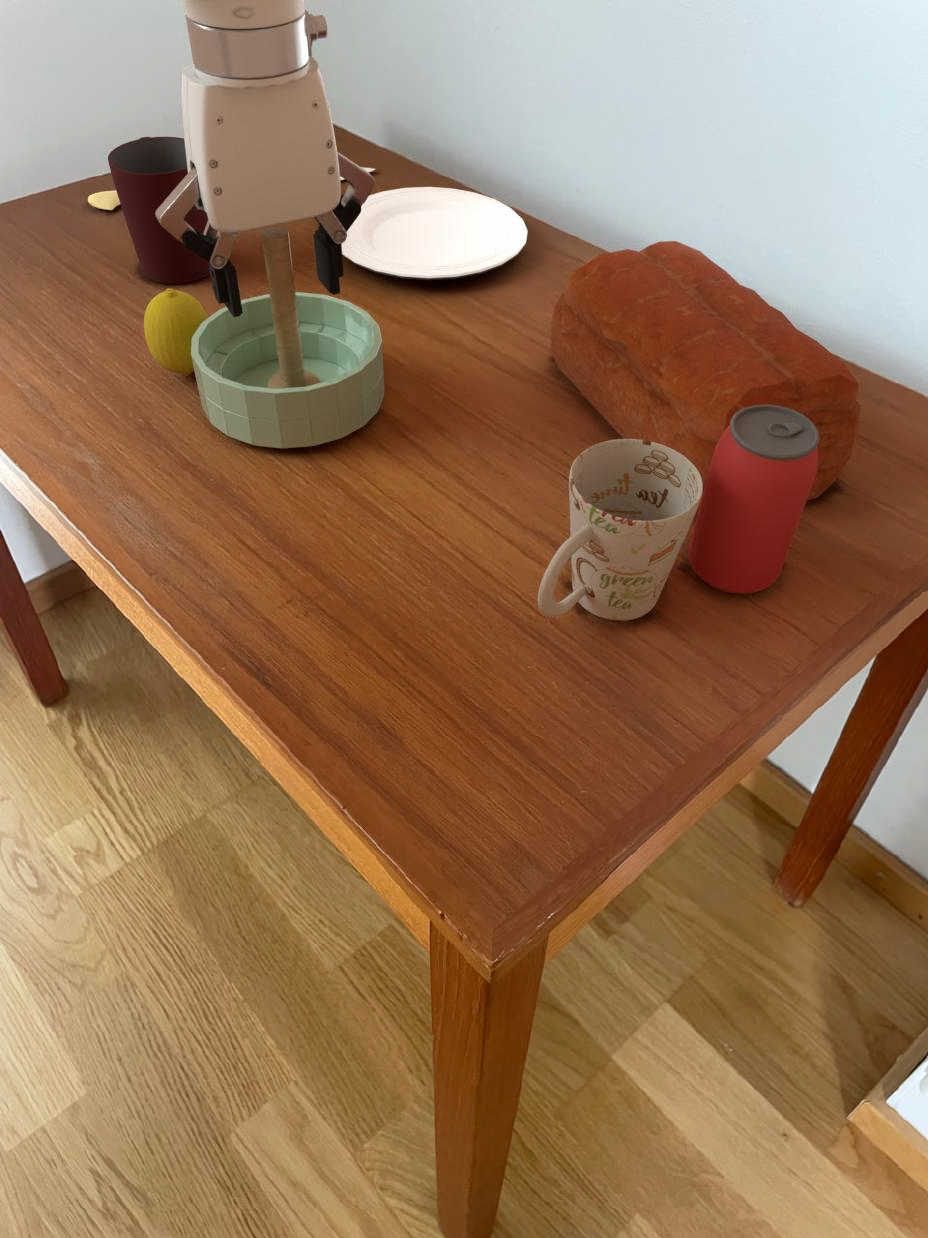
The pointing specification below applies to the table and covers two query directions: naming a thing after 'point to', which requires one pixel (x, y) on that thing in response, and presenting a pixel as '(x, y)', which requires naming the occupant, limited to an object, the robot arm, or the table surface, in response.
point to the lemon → (173, 329)
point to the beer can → (754, 498)
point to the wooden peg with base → (284, 311)
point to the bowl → (247, 358)
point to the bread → (694, 356)
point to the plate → (433, 234)
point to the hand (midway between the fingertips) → (281, 296)
